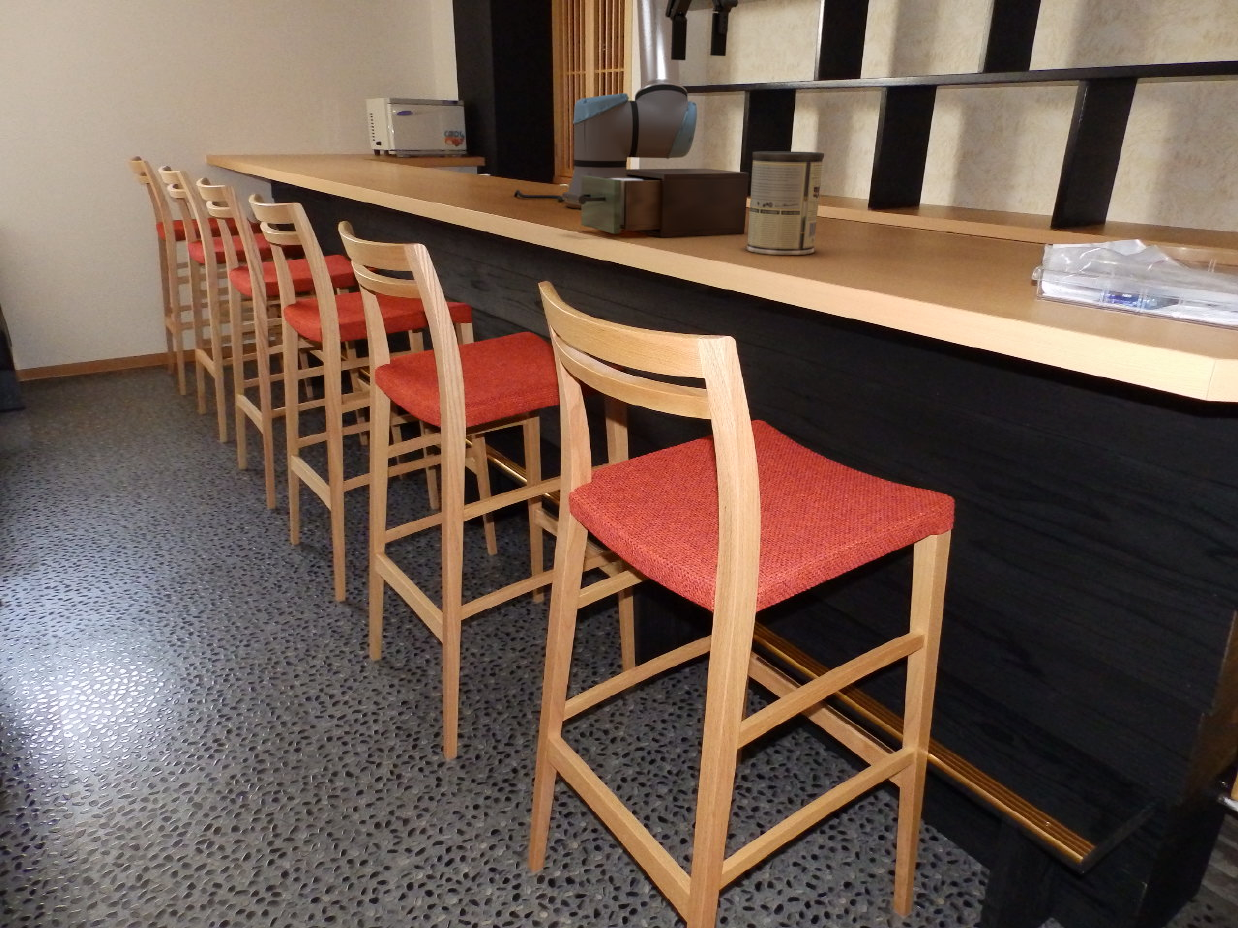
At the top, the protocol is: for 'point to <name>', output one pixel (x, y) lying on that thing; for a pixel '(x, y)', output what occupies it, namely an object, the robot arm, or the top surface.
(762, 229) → the coffee can
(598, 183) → the drawer
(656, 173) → the cabinet
